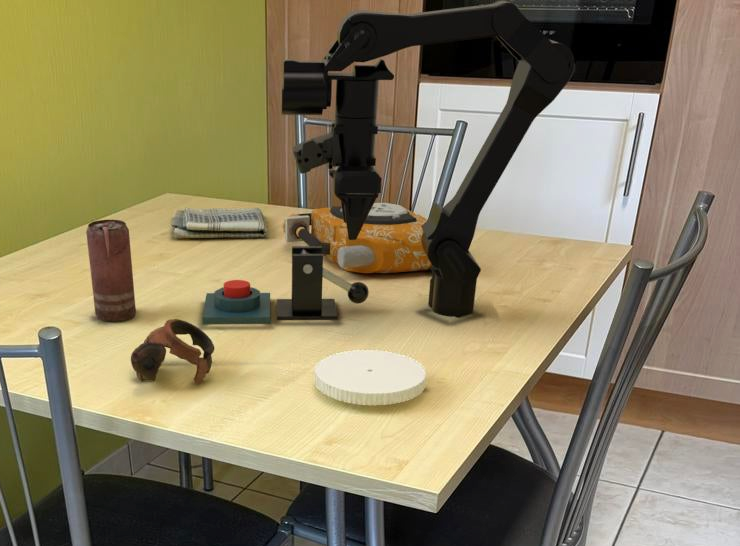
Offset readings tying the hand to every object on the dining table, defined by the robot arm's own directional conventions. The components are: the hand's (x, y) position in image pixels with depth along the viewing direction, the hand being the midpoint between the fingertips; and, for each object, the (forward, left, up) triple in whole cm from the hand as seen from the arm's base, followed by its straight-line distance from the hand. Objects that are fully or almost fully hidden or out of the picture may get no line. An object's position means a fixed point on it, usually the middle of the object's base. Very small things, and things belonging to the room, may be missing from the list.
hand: (349, 230), depth 134 cm
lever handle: (+2, +2, -8) cm, 9 cm away
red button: (+10, +14, -9) cm, 19 cm away
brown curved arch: (-5, +34, -13) cm, 37 cm away
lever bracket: (+4, +5, -13) cm, 14 cm away
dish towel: (+54, -11, -13) cm, 57 cm away
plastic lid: (-23, +15, -13) cm, 30 cm away
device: (+21, -20, -13) cm, 32 cm away
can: (+20, +29, -13) cm, 37 cm away
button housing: (+10, +14, -13) cm, 21 cm away
